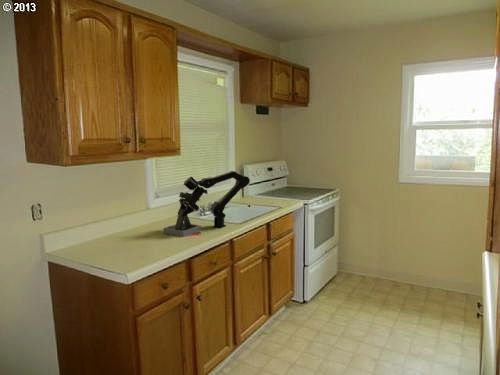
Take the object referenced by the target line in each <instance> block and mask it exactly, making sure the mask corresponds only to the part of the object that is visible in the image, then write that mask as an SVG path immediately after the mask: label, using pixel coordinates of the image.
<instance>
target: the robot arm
mask: <svg viewBox="0 0 500 375" xmlns="http://www.w3.org/2000/svg"><path fill="white" fill-rule="evenodd" d="M231 179H234V180H236V181H235V184H234V185H233V186H232V187H231V188H230V190H229V191H228V192H227V193H226V194H225V195H224V196H223V197H222V198H221V200H219V201H214V202H213V204H211V207H210V210H209V211H210V214H212V215H213V218H214V220H213V224H214V225H212V228H218V229H219V228H220V229H221V228H224V227H226V226H227V224H225V219H226V216H227V215H226V214H225V213H224V210H225V208H226V206H227V205H228V203H230V202H231V200H232V199H233V198H234V197H235V196H236V195H237V194H238V192H239V191H240V190H242V189H244V188H246V187H247V186H248V185H249V184H250V181H251V179H250V177H249V176H246V175H242V174H240V173H238V172H236V171H234V170H231V171H228V172H226V173H223V174H220V175H217V176H212V177H210V176H209V177H203V178H202V179H201V180H198V181H197V180H196V179H195V178H194V177H193V176H190V177H188V178H187V179H185V181H184V182H183V186H185V187H186V188H187V189H188V190H189V191H192V192H190V193H189V192H182V191H181V192H180V193H179V196H178V198H179V200H178V202H179V204H180V207H179V209H181V210H182V209H183V210H185V211H184V212H183V214H182V217H184V216H185V215H189V214H192V213H193V212H195V211H196V212H198V211H199V210H200V207H199V205H198V204H196V203H198V202H199V201H200V198H201V197H202V196H203V195H204V194H205V195H208V189H210V188H212V187H214V186H215V185H216V184H218V183H219V184H220V183H221V182H225V181H228V180H231ZM177 215H179V212H178V211H177Z"/></svg>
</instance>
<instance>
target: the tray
mask: <svg viewBox="0 0 500 375" xmlns="http://www.w3.org/2000/svg"><path fill="white" fill-rule="evenodd" d="M175 225H176V223H175V224H173V225H169V226H166V227H163V228H162V230H163V234H167V235H173V236H178V237H186V236H190V235H193V234H195V233H198V232H200V231H202V225H199V224H194V223H191V226H192V228H191V229H188V230H183V231H180V230H176V229H175ZM182 227H185V224H184V222H183V226H182ZM194 232H195V233H194ZM192 233H193V234H192ZM189 234H190V235H189Z"/></svg>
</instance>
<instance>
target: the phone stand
mask: <svg viewBox="0 0 500 375" xmlns="http://www.w3.org/2000/svg"><path fill="white" fill-rule="evenodd" d="M184 211H185V210H183V209H182V210H181V209H180V208H179V209H178V211H177V213H178V212H179V215H178V214H177V215H178V216H177V220H176V222H175V224H176V225H175V224H174V225H175V229H176V230H180V231H183V230H188V229H191V228H192V226H191V224H192V223H191V221H190V218H189V214H187V215H185V216H184V217H182V214H183V212H184ZM183 223H184V224H185V227H182V226H183Z"/></svg>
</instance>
